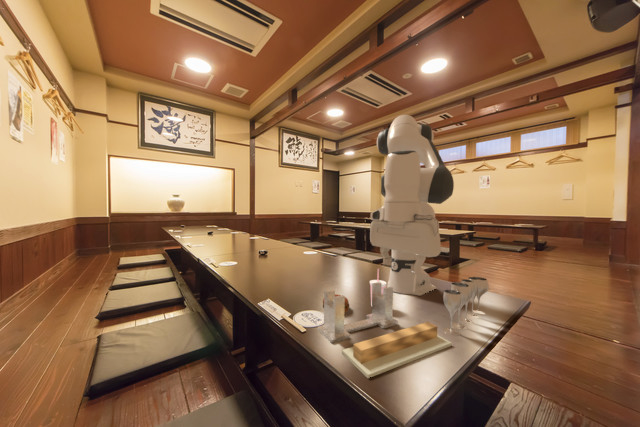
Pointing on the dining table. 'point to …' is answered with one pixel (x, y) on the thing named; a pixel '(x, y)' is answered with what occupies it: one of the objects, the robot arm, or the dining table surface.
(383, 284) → the beverage cup
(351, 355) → the mat
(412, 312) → the dining table surface
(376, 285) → the rack
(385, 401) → the dining table surface
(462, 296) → the goblet set
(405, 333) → the bar
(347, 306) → the burger
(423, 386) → the dining table surface
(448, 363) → the dining table surface
